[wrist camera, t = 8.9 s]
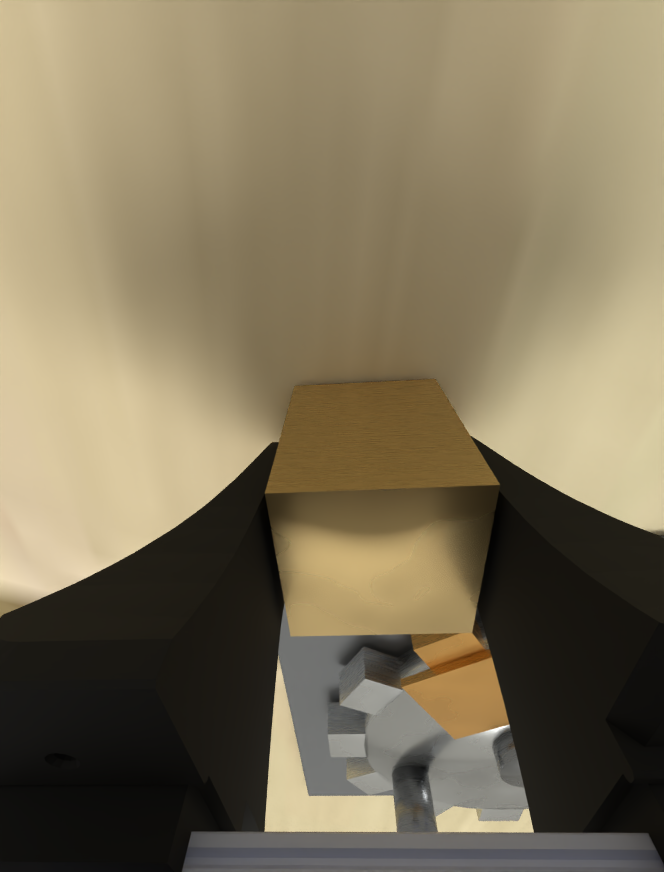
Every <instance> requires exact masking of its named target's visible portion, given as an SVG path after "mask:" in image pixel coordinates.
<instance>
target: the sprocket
mask: <svg viewBox="0 0 664 872" xmlns="http://www.w3.org/2000/svg"><path fill="white" fill-rule="evenodd" d="M411 639H412V645H413V648H412V649H410V650H409V651H407V652H406V653H404V654H403V655H401V656H400V657H394V656H391V655H388V654H385V653H382V652H379V651H376V650H373V649H370V648H367V647H362V648H361V650H360V651H359V652H358V653H357V654H356V655H355V656H354V657H353V658H352V660H351V661H350V662H349V663H348V664H347V665H346V666H345V667H344V668H343V670H342V671H341V672H340V673H339V690H340V702H333V703H328V741H329V748H330V755H331V757H346V762H347V780H348V781H349V782H351V783H352V784H354V785H355V786H356V787H358V788H359V789H361V790H362V791H364V792H365V793H366V794H368V795H373V794H377V793H381V792H385V791H389V790H393V794H394V805H395V815H396V826H397V832H438V830H437V824H436V818H435V816H438V815H439V814H441V813H443V812H444V811H446V810H448V809H449V808H451V807H453V806H458V807H465V808H476V811H477V816H478V820H479V821H519V818H520V816H521V814H522V812H523V810H524V809H529V807H528V803H527V798H526V794H525V789H524V785H523V780H522V776H521V771H520V767H519V763H518V758H517V754H516V750H515V746H514V742H513V738H512V734H511V729H510V725H509V721H508V717H507V713H506V709H505V705H504V701H503V697H502V693H501V690H500V686H499V682H498V678H497V675H496V671H495V667H494V663H493V659H492V656H491V652H490V649H489V645H488V642H487V638H486V635H485V631H484V628H483V624H482V621H480V622H477V621H476V620H474V625H473V630H472V633H442V634H411Z"/></svg>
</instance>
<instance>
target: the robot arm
mask: <svg viewBox="0 0 664 872" xmlns="http://www.w3.org/2000/svg"><path fill="white" fill-rule="evenodd" d="M471 438H472V440H473V441H474V443H475V445H476V446H477V448H478V450H479V451H480V453H481V454H482V456H483V458H484V459H485V461H486V463H487V464H488V466H489V467H490V469H491V471H492V472H493V474H494V476H495V477H496V479H497V481H498V482H499V484H500V488H499V493H498V499H497V504H496V509H495V514H494V520H493V525H492V530H491V535H490V541H489V546H488V551H487V557H486V562H485V567H484V572H483V578H482V583H481V588H480V594H479V599H478V604H477V609H478V611H479V614H480V617H481V621H482V624H483V628H484V631H485V635H486V638H487V642H488V645H489V649H490V652H491V656H492V659H493V663H494V667H495V671H496V675H497V678H498V682H499V686H500V690H501V693H502V697H503V701H504V705H505V709H506V713H507V717H508V721H509V725H510V729H511V734H512V738H513V742H514V746H515V750H516V754H517V758H518V763H519V767H520V771H521V776H522V780H523V785H524V789H525V794H526V798H527V803H528V807H529V811H530V816H531V820H532V825H533V830H534V833H485V832H264V830H265V813H266V798H267V784H268V769H269V754H270V742H271V729H272V717H273V704H274V693H275V682H276V671H277V660H278V651H279V641H280V631H281V622H282V615H283V609H284V597H283V591H282V586H281V580H280V575H279V569H278V564H277V558H276V553H275V547H274V542H273V536H272V531H271V525H270V520H269V514H268V509H267V503H266V497H265V491H266V487H267V484H268V480H269V476H270V473H271V469H272V466H273V462H274V458H275V455H276V451H277V448H278V444H279V442H272V443H271V444H270V445H269V446H268V447H267V448H266V449H265V450H264V451H263V452H262V453H261V454H260V455H259V456H258V457H257V458H256V459H255V460H254V461H253V462H252V463H251V464H250V465H249V466H248V467H247V468H246V469H245V470H244V471H243V472H242V473H241V474H240V475H239V476H238V477H237V478H236V479H235V480H234V481H233V482H232V483H230V484H229V485H228V486H227V487H226V488H225V489H224V490H223V491H221V492H220V493H219V494H218V495H217V496H216V497H215V498H213V499H212V500H211V501H210V502H209V503H208V504H206V505H205V506H204V507H203V508H201V509H200V510H199V511H197V512H196V513H195V514H193V515H192V516H191V517H189V518H188V519H186V520H185V521H184V522H182V523H181V524H179V525H178V526H176V527H175V528H174V529H172V530H171V531H169V532H167V533H166V534H164V535H162V536H161V537H159V538H158V539H156V540H154V541H153V542H151V543H149V544H148V545H146V546H145V547H143V548H141V549H140V550H138V551H136V552H135V553H133V554H131V555H129V556H128V557H126V558H124V559H122V560H120V561H118V562H116V563H115V564H113V565H111V566H109V567H107V568H105V569H103V570H101V571H99V572H97V573H95V574H93V575H91V576H89V577H87V578H85V579H83V580H81V581H79V582H77V583H75V584H73V585H71V586H68V587H66V588H64V589H62V590H59V591H57V592H55V593H53V594H50V595H48V596H46V597H43V598H41V599H39V600H37V601H34V602H32V603H30V604H27V605H25V606H23V607H21V608H18V609H16V610H13V611H11V612H9V613H6V614H4V615H2V616H1V618H0V872H664V538H663V537H660V536H658V535H655V534H653V533H650V532H648V531H645V530H643V529H640V528H638V527H635V526H633V525H630V524H627V523H625V522H623V521H620V520H618V519H616V518H613V517H611V516H609V515H607V514H604V513H602V512H600V511H598V510H596V509H594V508H592V507H590V506H588V505H586V504H584V503H581V502H579V501H577V500H575V499H573V498H571V497H569V496H568V495H566V494H564V493H562V492H560V491H558V490H556V489H555V488H553V487H551V486H549V485H548V484H546V483H544V482H542V481H541V480H539V479H537V478H535V477H534V476H532V475H530V474H529V473H527V472H526V471H524V470H522V469H521V468H519V467H518V466H516V465H514V464H513V463H511V462H510V461H508V460H507V459H505V458H504V457H502V456H501V455H499V454H498V453H496V452H495V451H493V450H492V449H490V448H489V447H487V446H486V445H484V444H483V443H481V442H480V441H478V440H476V439H475V438H473V437H472V436H471Z"/></svg>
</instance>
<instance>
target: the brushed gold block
mask: <svg viewBox="0 0 664 872" xmlns="http://www.w3.org/2000/svg"><path fill="white" fill-rule="evenodd" d="M499 488H500V484H499V482H498V481H497V479H496V477H495V476H494V474H493V472H492V471H491V469H490V467H489V466H488V464H487V463H486V461H485V459H484V458H483V456H482V454H481V453H480V451H479V450H478V448H477V446H476V445H475V443H474V441H473V440H472V438H471V436H470V435H469V433H468V432H467V430H466V428H465V427H464V425H463V423H462V422H461V420H460V419H459V417H458V415H457V414H456V412H455V410H454V409H453V407H452V405H451V404H450V402H449V401H448V399H447V397H446V396H445V394H444V392H443V391H442V389H441V388H440V386H439V384H438V383H437V381H436V379H426V380H406V381H386V382H365V383H345V384H325V385H304V386H295V387H294V390H293V394H292V397H291V401H290V405H289V408H288V412H287V415H286V419H285V423H284V426H283V430H282V433H281V437H280V441H279V444H278V448H277V451H276V455H275V458H274V462H273V466H272V469H271V473H270V476H269V480H268V484H267V487H266V491H265V497H266V503H267V509H268V514H269V520H270V525H271V531H272V536H273V542H274V547H275V553H276V558H277V564H278V569H279V575H280V580H281V586H282V591H283V597H284V603H285V608H286V614H287V619H288V625H289V630H290V636H341V635H392V634H442V633H472V630H473V625H474V620H475V615H476V609H477V604H478V599H479V594H480V588H481V583H482V578H483V572H484V567H485V562H486V557H487V551H488V546H489V541H490V535H491V530H492V525H493V520H494V514H495V509H496V504H497V499H498V493H499Z"/></svg>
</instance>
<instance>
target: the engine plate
mask: <svg viewBox="0 0 664 872" xmlns="http://www.w3.org/2000/svg"><path fill="white" fill-rule="evenodd" d="M660 537H663V538H664V536H660ZM475 620H476V621H477V622H480V621H481V617H480V614H479V611H478V609H476V615H475ZM362 647H367V648H370V649H373V650H376V651H379V652H382V653H385V654H388V655H391V656H394V657H400V656H401V655H403V654H404V653H406V652H407V651H409V650H410V649H412V648H413V645H412V639H411V634H392V635H341V636H290V630H289V625H288V619H287V614H286V608H285V603H284V609H283V615H282V622H281V631H280V641H279V651H278V655H279V659H280V664H281V669H282V673H283V678H284V683H285V687H286V692H287V697H288V701H289V706H290V711H291V715H292V720H293V724H294V729H295V734H296V738H297V743H298V748H299V752H300V757H301V762H302V766H303V771H304V776H305V780H306V785H307V790H308V794H309V796H368V794H366V793H365V792H364V791H362V790H361V789H359V788H358V787H356V786H355V785H354V784H352V783H351V782H349V781H348V780H347V762H346V757H331V755H330V748H329V741H328V703H333V702H340V690H339V673H340V672H341V671H342V670H343V668H344V667H345V666H346V665H347V664H348V663H349V662H350V661H351V660H352V658H353V657H354V656H355V655H356V654H357V653H358V652H359V651H360V650H361V648H362ZM373 795H394V794H393V790H389V791H385V792H381V793H377V794H373Z"/></svg>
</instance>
